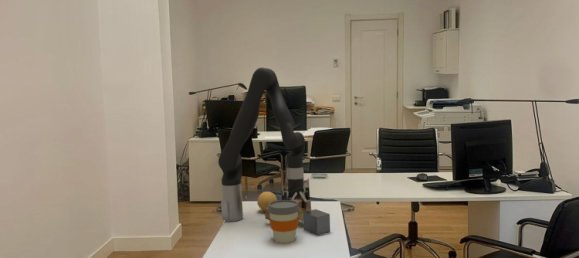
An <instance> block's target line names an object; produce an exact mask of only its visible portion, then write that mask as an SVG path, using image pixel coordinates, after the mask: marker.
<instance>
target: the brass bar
mask: <svg viewBox="0 0 579 258" xmlns="http://www.w3.org/2000/svg"><path fill="white" fill-rule="evenodd" d="M307 211H310V210H307V209H304V208H301V207H299V211H298V221H299V222H302V223H304V221H303V212H307Z"/></svg>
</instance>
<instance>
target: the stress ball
mask: <svg viewBox="0 0 579 258" xmlns="http://www.w3.org/2000/svg"><path fill="white" fill-rule="evenodd" d="M274 201H278V199H277V196H276V195H275V194H274V193H273V192H271V191H263V192H262V193H260V194H259V195H258V197H257V202H256V203H257V206H258V207H259V209H260V210H261V211H263V212H265V208H267V207H269V204H270V203H271V202H274Z"/></svg>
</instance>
